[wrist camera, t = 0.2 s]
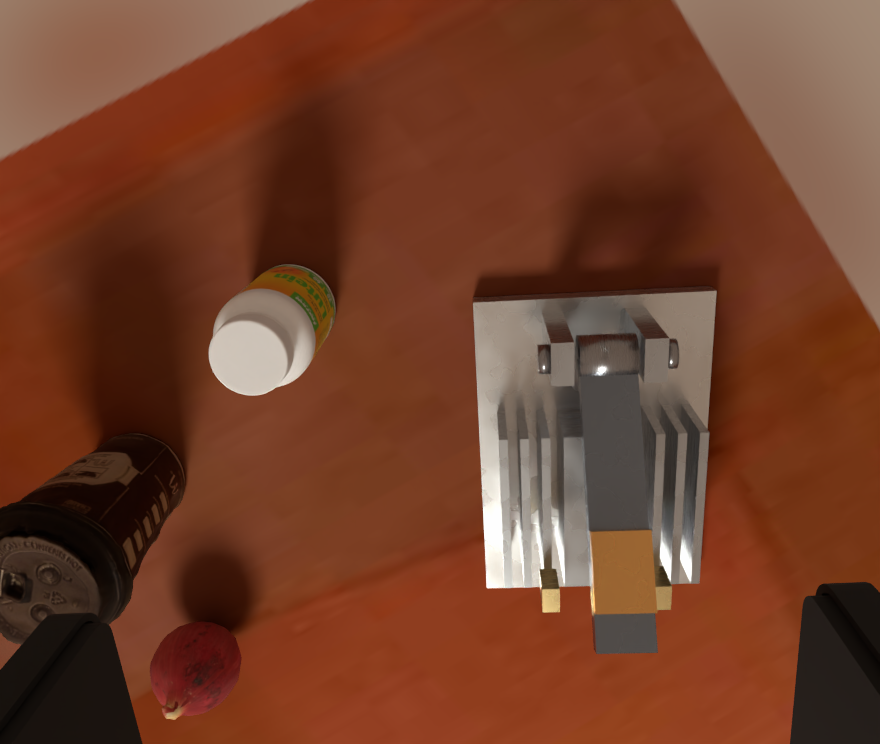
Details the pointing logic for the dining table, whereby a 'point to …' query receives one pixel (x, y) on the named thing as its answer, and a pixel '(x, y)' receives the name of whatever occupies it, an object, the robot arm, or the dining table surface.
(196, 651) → the onion
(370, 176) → the dining table surface
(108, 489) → the coffee cup
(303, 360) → the supplement bottle
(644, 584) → the strap
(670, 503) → the heatsink base
